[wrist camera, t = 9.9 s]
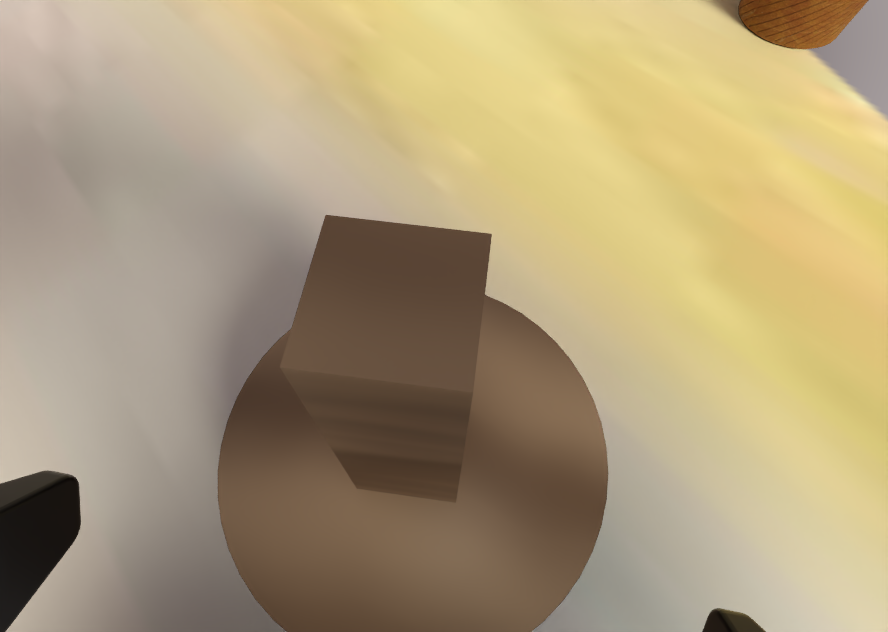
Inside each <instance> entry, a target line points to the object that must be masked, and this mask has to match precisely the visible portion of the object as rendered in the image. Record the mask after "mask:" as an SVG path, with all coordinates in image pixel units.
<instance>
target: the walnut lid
mask: <svg viewBox="0 0 888 632" xmlns="http://www.w3.org/2000/svg"><path fill="white" fill-rule="evenodd" d="M491 236H492V234H488V233H479V232H470V231H461V230H453V229H444V228H435V227H427V226H418V225H409V224H400V223H392V222H383V221H374V220H366V219H357V218H348V217H340V216H331V215H326V216H325V219H324V222H323V226H322V229H321V232H320V235H319V239H318V242H317V245H316V249H315V252H314V255H313V259H312V262H311V265H310V269H309V272H308V275H307V279H306V282H305V285H304V289H303V292H302V295H301V298H300V302H299V305H298V308H297V312H296V315H295V318H294V322H293V325H292V328H291V329H290V330H289V331H288V332H287V333H286V334H285V335H283V336H282V337H281V338H280V339H279V340H278V341H277V342H276V343H275V344H274V345H273V346H272V347H271V349H270V350H269V351H268V352H267V353H266V354H265V355H264V356H263V357H262V359H261V360H260V362H259V363H258V364H257V366H256V367H255V369H254V370H253V371H252V373H251V374H250V375H249V377H248V379H247V381H246V382H245V384H244V386H243V388H242V390H241V391H240V393H239V395H238V397H237V399H236V401H235V404H234V406H233V409H232V411H231V414H230V416H229V419H228V422H227V425H226V429H225V433H224V437H223V440H222V444H221V451H220V458H219V466H218V502H219V509H220V516H221V523H222V527H223V531H224V534H225V538H226V541H227V545H228V548H229V551H230V553H231V556H232V558H233V560H234V562H235V565H236V567H237V569H238V571H239V574H240V576H241V577H242V579H243V580H244V582H245V583H246V585H247V587H248V588H249V590H250V591H251V593H252V595H253V596H254V598H255V599H256V600H257V601H258V603H259V604H260V605H261V606H262V607H263V608H264V610H265V611H266V612H267V613H268V614H269V615H270V616H271V618H272V619H273V620H274V621H275V622H276V623H278V624H279V625H280V626H281V627H282V628H283V629H285V630H286V631H287V632H531V631H532V630H534V629H535V628H536V627H537V626H539V625H540V624H541V623H542V622H544V621H545V619H546V618H547V617H548V616H549V615H550V614H551V613H552V612H553V611H554V610H555V609H556V608H557V607H558V606H559V604H560V603H561V602H562V601H563V600H564V599H565V597H566V596H567V594H568V593H569V592H570V590H571V589H572V587H573V586H574V584H575V583H576V581H577V580H578V579H579V577H580V575H581V573H582V571H583V569H584V567H585V565H586V563H587V561H588V559H589V557H590V555H591V553H592V551H593V549H594V546H595V543H596V540H597V537H598V534H599V531H600V528H601V525H602V520H603V515H604V509H605V504H606V499H607V483H608V465H607V451H606V444H605V439H604V434H603V429H602V424H601V421H600V418H599V415H598V412H597V409H596V406H595V403H594V400H593V398H592V396H591V394H590V392H589V390H588V388H587V386H586V384H585V382H584V380H583V378H582V376H581V375H580V373H579V372H578V370H577V369H576V367H575V366H574V364H573V363H572V361H571V360H570V358H569V357H568V356H567V355H566V354H565V352H564V351H563V350H562V349H561V348H560V346H559V345H558V344H557V343H556V342H555V341H554V340H553V339H552V338H551V337H550V336H549V335H548V334H547V333H546V332H545V331H543V330H542V329H541V328H540V327H539V326H538V325H536V324H535V323H534V322H532V321H531V320H530V319H528V318H527V317H526V316H524V315H523V314H522V313H520V312H518V311H516V310H514V309H513V308H511V307H509V306H507V305H506V304H504V303H502V302H500V301H497V300H495V299H493V298H490V297H488V296H486V295H485V287H486V279H487V270H488V262H489V253H490V244H491Z"/></svg>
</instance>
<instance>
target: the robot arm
mask: <svg viewBox="0 0 888 632" xmlns="http://www.w3.org/2000/svg"><path fill="white" fill-rule="evenodd" d="M80 525H81V515H80V495H79V483H78V481H77V479H76V477H74V476H72V475H69V474H64V473H59V472H55V471H42V472H38V473H35V474H32V475H28V476H25V477H21V478H18V479H15V480H11V481H8V482H5V483H1V484H0V632H5V631H6V630H7V629H8V628H9V626H10V625H11V624H12V623H13V621H14V620H15V619H16V617H17V616H18V615H19V613H20V612H21V611H22V609H23V608H24V607H25V606H26V604H27V603H28V602H29V600H30V599H31V598H32V596H33V595H34V594H35V592H36V591H37V590H38V588H39V587H40V586H41V584H42V583H43V582H44V581H45V579H46V578H47V577H48V575H49V574H50V573H51V571H52V570H53V569H54V567H55V566H56V565H57V563H58V562H59V561H60V559H61V558H62V557H63V556H64V554H65V553H66V552H67V550H68V549H69V548H70V546H71V545H72V544H73V542H74V541H75V539H76V537H77V535H78V532H79V530H80ZM703 632H766V631H765V630H763V629H762V628H761V627H760V626H759V625H758V624H757V623H756V622H755V621H754V620H753V619H751V618H750V617H749V616H748V615H746V614H743V613H740V612H735V611H730V610H725V609H720V608H717V609H714V610H712V611H711V612H710V614H709V616H708V618H707V621H706V623H705V626H704V629H703Z"/></svg>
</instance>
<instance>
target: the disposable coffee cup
mask: <svg viewBox="0 0 888 632" xmlns="http://www.w3.org/2000/svg"><path fill="white" fill-rule="evenodd" d="M867 1H868V0H741V1H740V4H739V15H740V18H741V19H742V21H743V23H744V24H745V25H746V26H747V28H748V29H750V30H751V31H752V32H754V33H755V34H756V35H758V36H760V37H761V38H763V39H765V40H767V41H770V42H772V43H774V44H778V45H782V46H785V47H790V48H798V49H810V48H818V47H822V46H825V45H827V44H829V43H831V42H832V41H833V40H834V39H836V38H837V36H838V35H839V34H840V33H841V31H842V30H843V29H844V28H845V27H846V26H847V24H848V23H849V22H850V21H851V20H852V19H853V18H854V16H855V15H856V14H857V13H858V12H859V11H860V10H861V8H862V7H863V6H864V5H865V3H866V2H867Z"/></svg>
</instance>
